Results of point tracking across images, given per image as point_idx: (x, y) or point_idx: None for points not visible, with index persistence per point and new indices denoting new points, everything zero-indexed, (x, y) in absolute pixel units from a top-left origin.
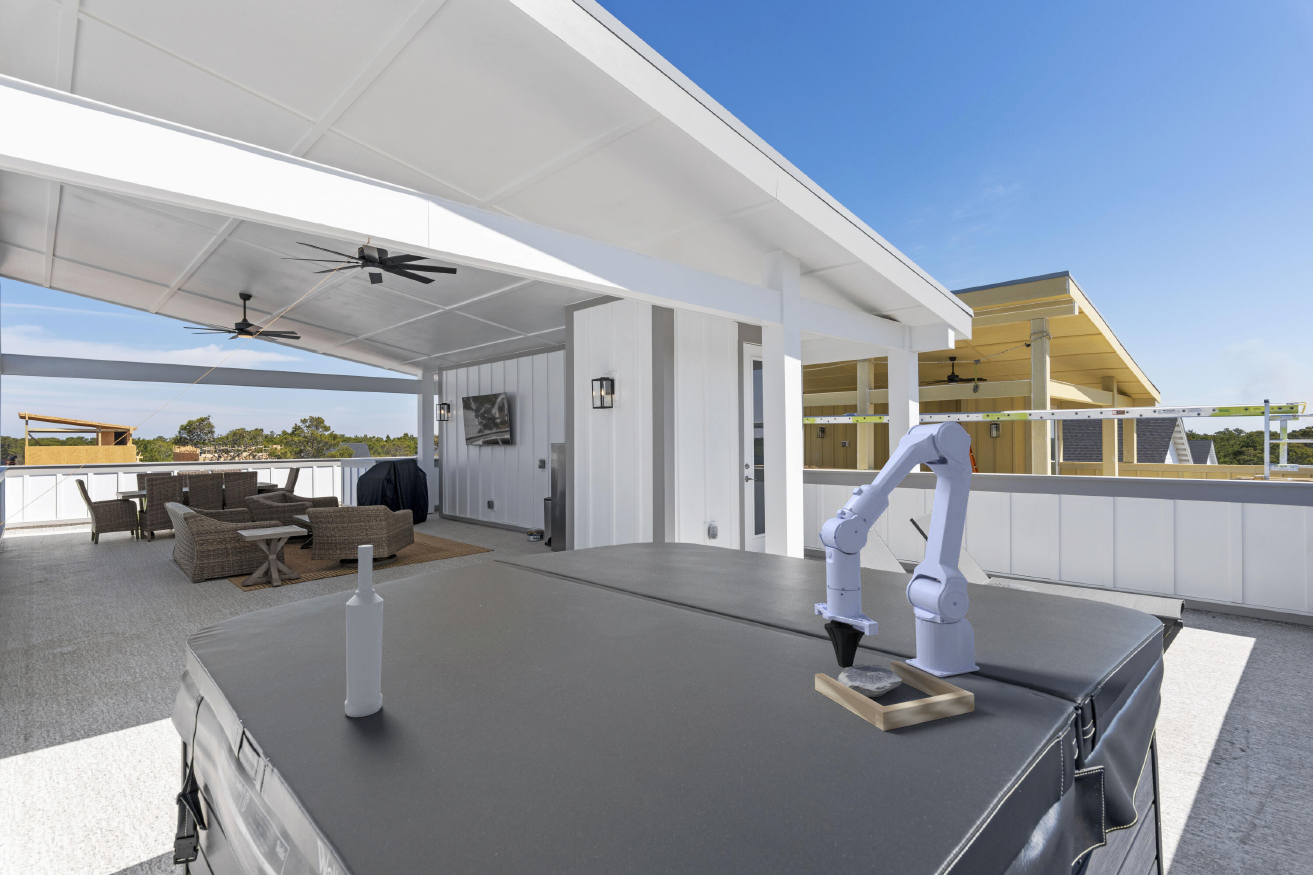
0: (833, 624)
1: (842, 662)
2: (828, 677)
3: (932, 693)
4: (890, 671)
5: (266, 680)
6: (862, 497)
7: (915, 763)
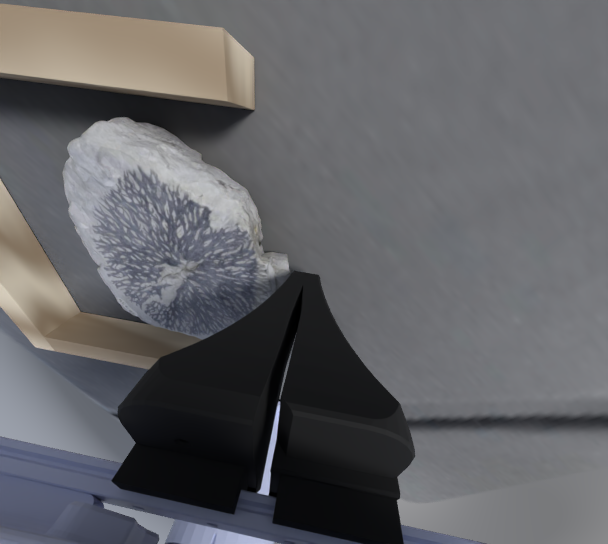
0: (345, 464)
1: (288, 278)
2: (159, 77)
3: (136, 326)
4: (167, 325)
5: None
6: None
7: None
